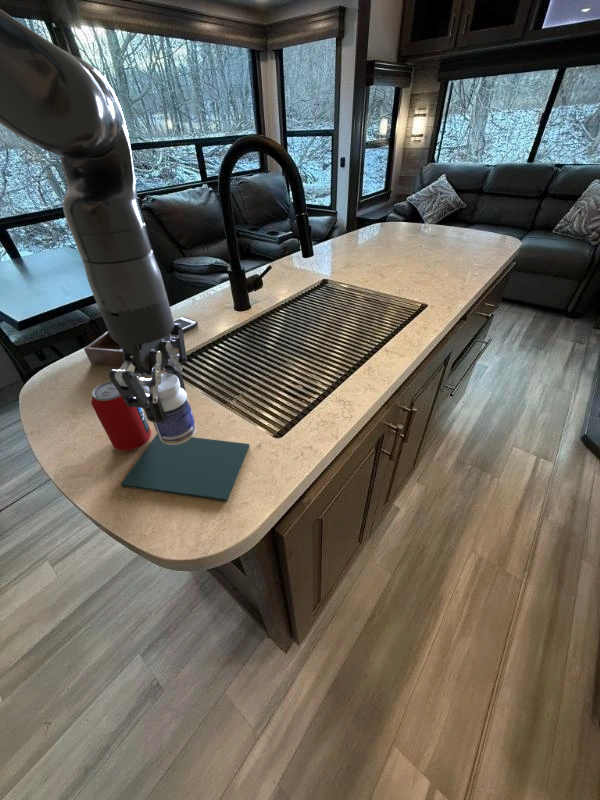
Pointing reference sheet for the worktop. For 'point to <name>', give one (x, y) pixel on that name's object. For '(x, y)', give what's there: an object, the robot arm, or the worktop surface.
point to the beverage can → (120, 418)
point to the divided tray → (106, 351)
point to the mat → (189, 468)
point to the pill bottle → (174, 412)
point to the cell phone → (185, 323)
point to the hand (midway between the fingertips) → (169, 406)
